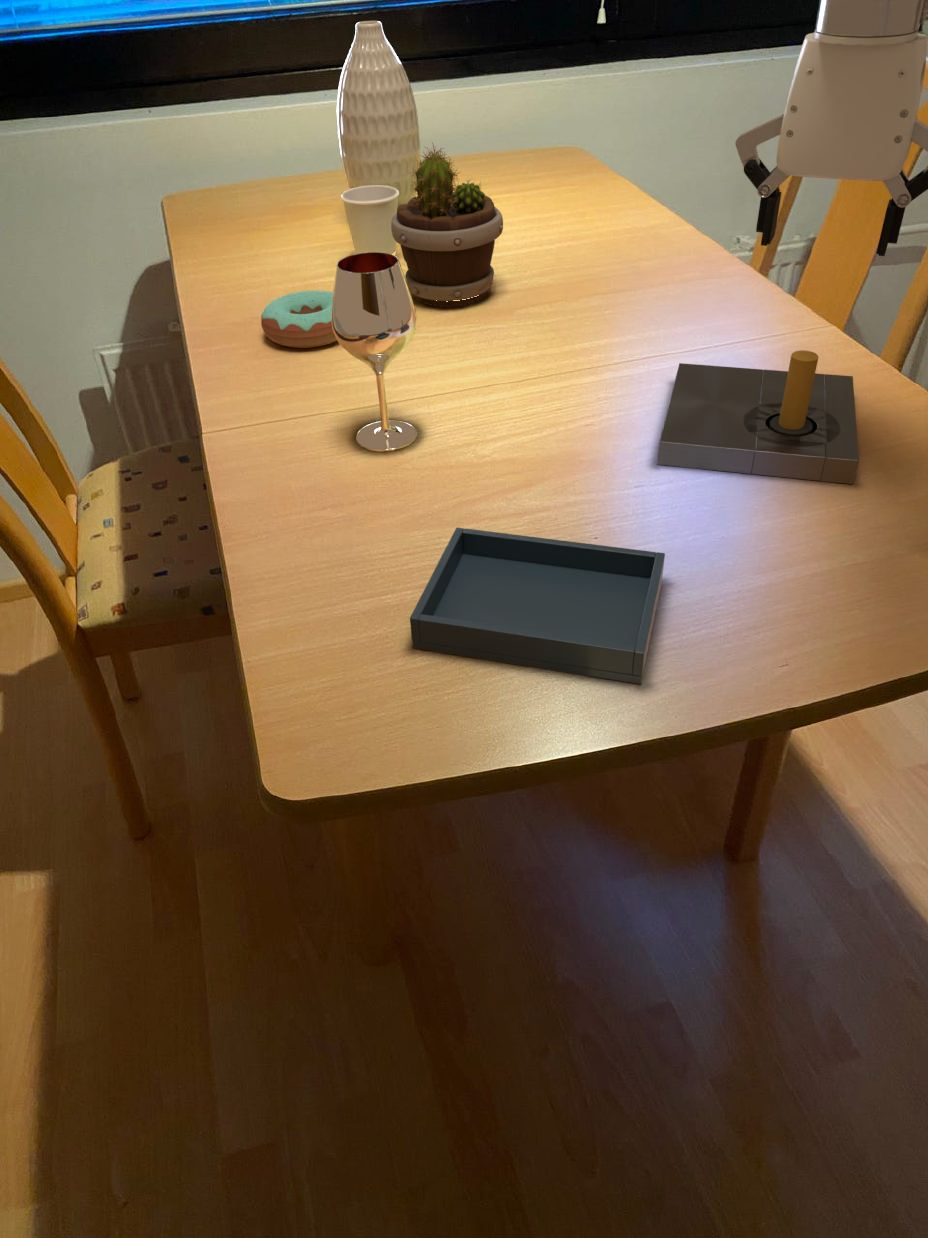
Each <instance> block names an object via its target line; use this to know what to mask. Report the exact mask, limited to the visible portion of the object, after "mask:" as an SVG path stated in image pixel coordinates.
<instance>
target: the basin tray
mask: <svg viewBox="0 0 928 1238" xmlns="http://www.w3.org/2000/svg"><path fill="white" fill-rule="evenodd" d="M665 557H666V553H665V552H658V551H657V552H656V551H650V550H643V549H633V548H626V547H617V546H611V545H603V544H593V543H586V542H577V541H569V540H561V539H555V538H545V537H537V536H531V535H530V536H529V535H522V534H513V533H506V532H498V531H497V532H496V531H489V530H481V529H474V528H464V527H455V529H454V532H453V533H452V535H451V537H450V539H449V541H448V543H447V545H446V547H445V548H444V551H443V553H442V554H441V557H440V559H439V560H438V562H437V564H436V566H435V568H434V571H433V572H432V574H431V575H430V578H429V580H428V582H427V584H426V585H425V588H424V590H423V591H422V594H421V596H420V597H419V599H418V601H417V603H416V605H415V607H414V608H413V611H412V613H411V615H410V617H409V625H410V632H411V642H412V643H411V644H412V648H413V649H418V650H424V651H429V652H436V653H442V654H449V655H455V656H462V657H468V658H473V659H481V660H486V661H493V662H499V663H503V664H505V663H506V664H510V665H519V666H524V667H530V668H536V669H543V670H548V671H556V672H562V673H568V674H575V675H581V676H588V677H592V678H598V679H599V678H600V679H607V680H612V681H619V682H625V683H631V684H636V685H641V684H642V682H643V678H644V673H645V667H646V662H647V657H648V652H649V647H650V642H651V637H652V632H653V628H654V623H655V619H656V618H655V617H656V613H657V607H658V603H659V598H660V594H661V589H662V584H663V575H664V567H665V566H664V565H665Z"/></svg>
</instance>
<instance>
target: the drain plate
mask: <svg viewBox="0 0 928 1238" xmlns="http://www.w3.org/2000/svg"><path fill="white" fill-rule="evenodd" d="M675 374H676V375H675V379H674V382H673V386H672V390H671V394H670V398H669V402H668V405H667V410H666V414H665V418H664V422H663V426H662V429H661V433H660V438H659V441H658V450H657V459H656V460H657V462H656V465H659V466H669V467H680V468H688V469H689V468H690V469H699V470H707V471H708V470H709V471H718V472H727V473H739V474H747V475H758V476H769V477H777V478H778V477H779V478H788V479H796V480H797V479H798V480H808V481H817V482H818V481H819V482H827V483H836V484H846V485H853V484H854V482H855V478H856V473H857V470H858V467H859V463H860V457H859V443H858V429H857V417H856V415H857V414H856V401H855V400H856V399H855V390H854V389H855V388H854V387H855V386H854V376H853V375H842V374H830V373H829V374H828V373H816V372H815V376H814V381H813V386H812V391H811V396H810V400H809V405H808V410H807V415H806V419H808V420H809V421H810V422H811V423H812V425H813V429H812V433H811V434H809V435H806V436H798V437H795V436H785V435H782V434H778V433H775V432H773V431H772V430H770V429H769V425H770V421H771V420H772V419H773V418H774V417H776V416H780V412H781V407H782V402H783V397H784V391H785V386H786V381H787V375H788V370H774V369H773V370H772V369H763V368H762V369H761V368H750V367H748V368H747V367H735V366H722V365H721V366H720V365H709V364H708V365H707V364H697V363H695V364H693V363H683V362H679V363H678V365H677V370H676V373H675Z"/></svg>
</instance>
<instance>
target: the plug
mask: <svg viewBox="0 0 928 1238" xmlns="http://www.w3.org/2000/svg"><path fill="white" fill-rule="evenodd" d="M818 361H819V355H818V354H817V353H816V352H813V351H810V350H803V349H802V350H795V351H793V352H792V353H791V355H790V361H789V365H788V370H787V371H788V375H787V381H786V386H785V391H784V397H783V402H782V407H781V412H780V416H776V417H774V418H773V419H772V420H771V421H770V425H769V429H770V430H772V431H773V432H775V433H778V434H782V435H785V436H795V437H798V436H806V435H809V434H811V433H812V429H813V425H812V423H811V422H810V421H809V420H808V419H806V415H807V410H808V405H809V400H810V396H811V391H812V386H813V381H814V376H815V373H816V371H817V367H818Z"/></svg>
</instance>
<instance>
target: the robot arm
mask: <svg viewBox="0 0 928 1238" xmlns="http://www.w3.org/2000/svg"><path fill="white" fill-rule="evenodd" d="M818 2H819V3H818V9H817V14H816V21H815V26H814V32H810V33H807V34H806V35H805V36H804V38H803V39H804V40H803V42H802V45H801V48H800V51H799V55H798V57H797V60H796V64H795V68H794V71H793V75H792V78H791V82H790V85H789V86H790V87H789V91H788V94H787V99H786V102H785V108H784V111H783V112H784V113H783V114H780V115H779V116H777V117H775V118H773V119H770V120H768V121H766V122H764V123H762V124H760V125H758V126H756V127H753V128H752V129H749V130H747V131H745V132H743V133H742V134H740V135H739V136H738V138H736V140H735V148H736V151H737V153H738V156H739V160H740V162H741V164H742V167H743V173H744V175H745V176H746V177H747V179H748V180H749V181H750V182H751V184H752V185H753V186H754V188H755V189H756V191H757V195H758V196H759V197H760V201H759V207H758V213H757V219H756V220H757V221H756V228H755V232H756V233H761V241H760V246H764V247H768V245H771V243H772V241H773V239H774V237H775V235H776V230H777V224H778V217H779V212H780V205H781V199H782V193H783V192H782V191H781V189H780V186H781V185H782V184H783V183H784V182H785V181H786V180H788V178H789V177H790V176H791V177H792V176H793V177H802V178H815V179H828V180H829V179H830V180H831V179H832V180H844V181H845V180H846V181H860V182H861V181H862V182H882V183H883V184H884V186H885V188H886V190H887V191H888V193H889V195H890V197H891V199H889V200H888V202H887V206H886V210H885V214H884V219H883V221H882V222H883V223H882V226H881V231H880V235H879V239H878V244H877V248H876V252H875V253H876V254H875V255H877V256H878V257H885V256H886V252H887V249H888V245H889V244H893V245H894V244H895V245H897V244H898V240H899V235H900V232H901V229H902V228H901V227H902V224H903V219H904V215H905V212H906V207H908V206H909V205H910V204H911V202H913V201H914V200H915V199H917V198H918V197H919V196H921V195H922V194H923V193H925V192H926V191H927V190H928V165H926V167H925V168H924V169H923V170H921V171H920V172H919V173H918V174H916V175H915V176H913V177H912V178H911V179H909V177H908V175H907V173H906V171H905V170H904V167H905V163H906V161H907V159H908V156H909V153H910V149H911V147H912V143H914V144H915V145H917V146H918V147H920V148H921V149H923V150H924V151H926V152H927V153H928V125H927V124H925V123H924V122H923V121H921V120H920V119H918V113H919V108H920V102H921V97H922V91H923V86H924V80H925V73H926V65H927V55H928V35H926V34H923V33H919V30H920V26H922V25H925V23H926V22H928V0H819V1H818ZM778 136H779V138H778V139H779V140H778V144H777V148H776V149H777V150H776V160H775V161H776V166H775V167H774V168H773V169H771V170H769V169H768V168H767V166H766V165H765V164H764V162H763V161H762V160H761V159H760V157H759V154H758V148H757V147H758V146H759V145H761V144H764V143H765V142H768V141H769V140H772V139H774V138H776V137H778Z"/></svg>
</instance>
